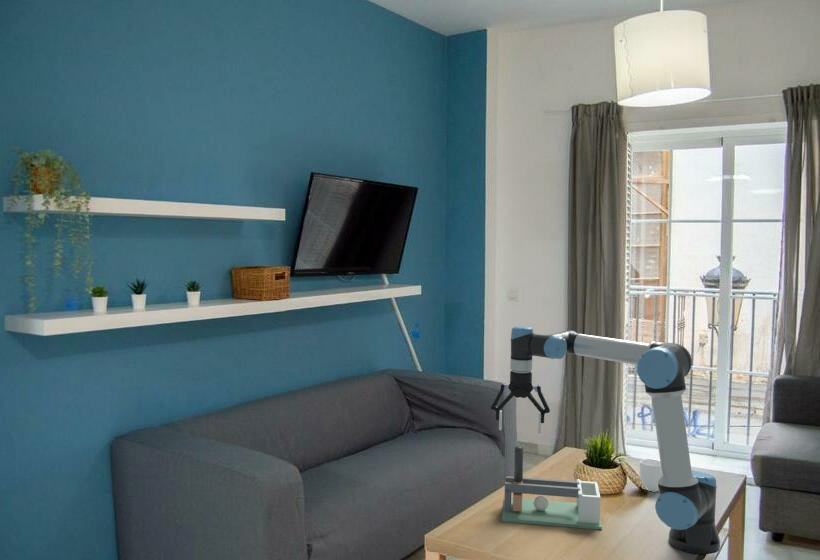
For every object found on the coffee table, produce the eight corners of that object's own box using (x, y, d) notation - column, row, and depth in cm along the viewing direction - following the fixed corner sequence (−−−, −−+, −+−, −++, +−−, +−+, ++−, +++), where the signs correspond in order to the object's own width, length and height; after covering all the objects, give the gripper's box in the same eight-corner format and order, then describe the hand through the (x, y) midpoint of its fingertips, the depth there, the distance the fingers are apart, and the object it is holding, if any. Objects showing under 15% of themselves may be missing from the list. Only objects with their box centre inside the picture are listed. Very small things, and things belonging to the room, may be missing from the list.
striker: (521, 511, 245) (522, 451, 244) (512, 510, 246) (514, 451, 244) (522, 500, 255) (523, 443, 254) (514, 500, 256) (515, 442, 254)
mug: (657, 482, 282) (658, 456, 281) (673, 488, 274) (674, 462, 274) (634, 486, 277) (635, 460, 276) (650, 493, 269) (651, 467, 268)
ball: (548, 513, 246) (548, 499, 246) (533, 512, 247) (533, 498, 247) (548, 508, 251) (548, 494, 251) (533, 507, 252) (533, 493, 252)
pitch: (601, 529, 236) (602, 497, 235) (501, 521, 242) (502, 489, 241) (597, 507, 255) (598, 477, 255) (505, 499, 261) (505, 470, 261)
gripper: (557, 370, 249) (555, 430, 250) (486, 367, 254) (485, 425, 255) (557, 374, 241) (556, 436, 243) (484, 371, 246) (483, 431, 248)
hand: (519, 430), depth 249 cm, fingers open, 13 cm apart
